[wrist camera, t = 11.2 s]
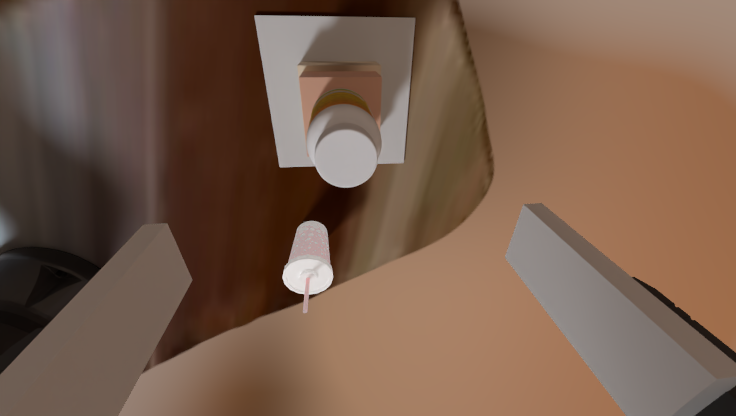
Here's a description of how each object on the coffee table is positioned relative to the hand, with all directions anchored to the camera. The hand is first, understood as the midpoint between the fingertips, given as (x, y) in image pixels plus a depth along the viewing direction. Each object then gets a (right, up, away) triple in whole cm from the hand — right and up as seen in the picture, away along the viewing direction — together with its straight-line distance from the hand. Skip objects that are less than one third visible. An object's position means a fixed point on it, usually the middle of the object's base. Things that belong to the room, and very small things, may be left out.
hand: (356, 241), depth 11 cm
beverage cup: (-8, -2, +32) cm, 33 cm away
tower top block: (-2, +11, +18) cm, 22 cm away
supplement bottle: (-2, +10, +15) cm, 18 cm away
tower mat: (-3, +14, +22) cm, 26 cm away
